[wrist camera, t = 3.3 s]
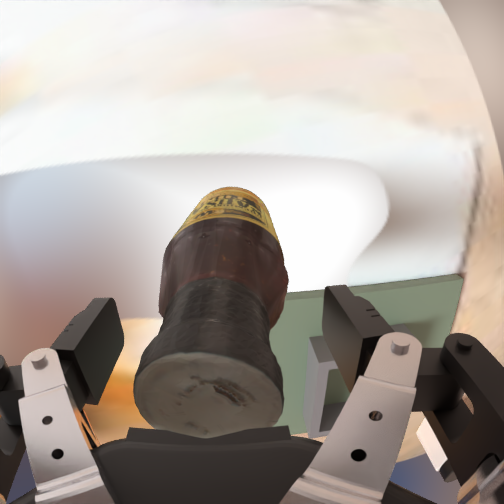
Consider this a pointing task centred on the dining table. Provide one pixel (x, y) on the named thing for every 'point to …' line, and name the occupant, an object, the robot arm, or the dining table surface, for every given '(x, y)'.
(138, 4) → the dining table surface
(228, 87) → the dining table surface
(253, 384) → the sauce bottle
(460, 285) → the deck plate
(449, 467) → the jar
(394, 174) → the dining table surface
